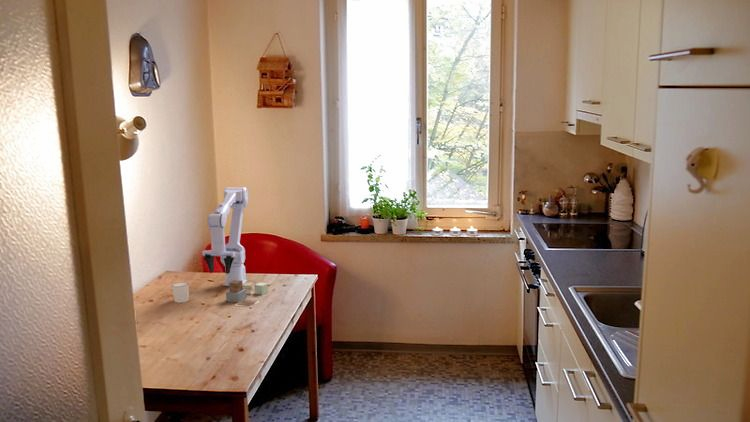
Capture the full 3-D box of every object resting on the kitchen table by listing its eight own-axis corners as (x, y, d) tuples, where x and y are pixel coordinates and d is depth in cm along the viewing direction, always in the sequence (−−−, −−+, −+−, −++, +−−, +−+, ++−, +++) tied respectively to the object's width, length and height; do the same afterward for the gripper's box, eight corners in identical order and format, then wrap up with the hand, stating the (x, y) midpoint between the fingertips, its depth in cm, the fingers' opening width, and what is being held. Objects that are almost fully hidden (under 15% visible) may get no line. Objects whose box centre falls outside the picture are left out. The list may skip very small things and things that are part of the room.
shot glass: (179, 304, 274) (178, 287, 273) (169, 301, 278) (168, 285, 277) (193, 299, 279) (192, 283, 278) (183, 297, 283) (182, 281, 282)
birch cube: (244, 291, 290) (243, 282, 290) (253, 291, 290) (253, 282, 289) (242, 294, 286) (241, 285, 286) (251, 294, 286) (251, 285, 286)
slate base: (234, 297, 283) (234, 288, 282) (246, 298, 280) (246, 289, 280) (226, 301, 277) (225, 292, 277) (238, 303, 275) (238, 293, 274)
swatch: (243, 300, 278) (243, 298, 277) (259, 301, 275) (259, 300, 275) (235, 305, 271) (235, 304, 271) (251, 307, 269) (251, 305, 269)
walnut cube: (234, 289, 281) (233, 279, 280) (242, 289, 280) (242, 280, 279) (229, 291, 277) (229, 282, 276) (238, 292, 276) (237, 283, 275)
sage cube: (260, 291, 290) (260, 282, 289) (268, 292, 288) (267, 283, 288) (254, 293, 287) (254, 284, 286) (262, 294, 285) (262, 285, 284)
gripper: (197, 242, 280) (199, 274, 282) (229, 244, 276) (230, 276, 278) (206, 239, 286) (208, 269, 289) (236, 240, 282) (238, 271, 285)
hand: (220, 272), depth 284 cm, fingers open, 7 cm apart
